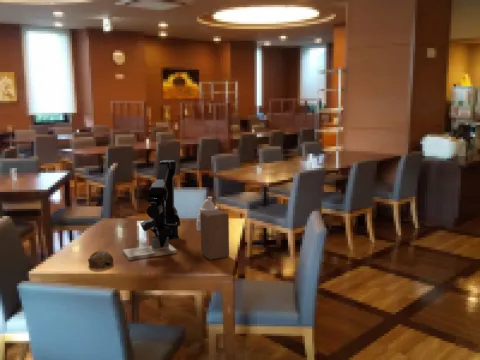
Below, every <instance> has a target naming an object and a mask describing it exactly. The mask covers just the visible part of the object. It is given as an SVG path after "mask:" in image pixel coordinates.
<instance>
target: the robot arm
mask: <svg viewBox="0 0 480 360" xmlns="http://www.w3.org/2000/svg"><path fill="white" fill-rule="evenodd" d="M158 163H159V164H158V171H157V174H156V179H155V181H154V182H153V183H151V186H150V187H149V189H148V195H147V203H150V205H149V206H148V207H147V209H146V215H147V216H148V217H149V219H145V220H144V221H142V222H140V226H141V229H142V230H143V231H144V232H148V231H149V230H150V231H151V232H152V233H153V234H154V237H157V236H158V237H159V242H160V246H161V247H163V246H164V244H165V241H166V239H167V237H168V238H169V240H173V239H179V238H180V236H179V227H180V226H181V218H180V216H179V214H178V213H179V212H178V210H177V208H176V207H175V176H176V175H177V173H178V169H179V163H178V162H177V161H176V160H171V159H165V160H164V159H163V160H161V161H159V162H158Z"/></svg>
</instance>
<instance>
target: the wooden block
mask: <svg viewBox="0 0 480 360" xmlns="http://www.w3.org/2000/svg"><path fill="white" fill-rule="evenodd" d="M200 217H201V232H200V243H201V245H200V248H201V249H200V251H201V252H200V253H201V255H202V256H203V257H205V258H206V259H208V260H211V261H212V260H217V259H222V258H228V257H230V222H229V219H230V218H229V213H228V212H225V211H223V210H221V209H217V210H212V211H204V212H201V213H200Z"/></svg>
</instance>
